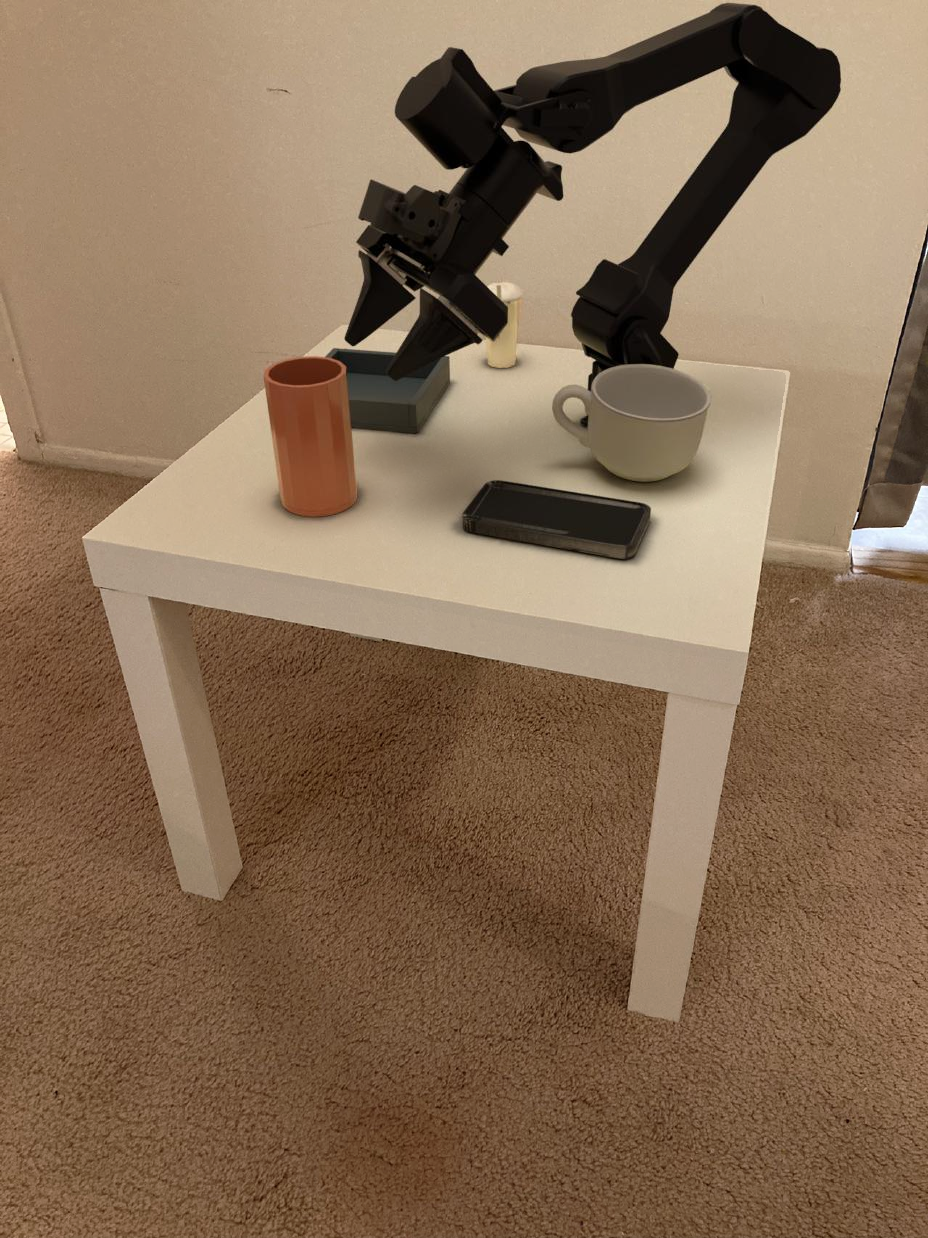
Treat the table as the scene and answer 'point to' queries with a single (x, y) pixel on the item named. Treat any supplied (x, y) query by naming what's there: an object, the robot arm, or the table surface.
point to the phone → (558, 518)
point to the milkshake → (506, 327)
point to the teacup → (639, 419)
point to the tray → (390, 390)
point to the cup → (312, 435)
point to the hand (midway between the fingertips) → (368, 359)
